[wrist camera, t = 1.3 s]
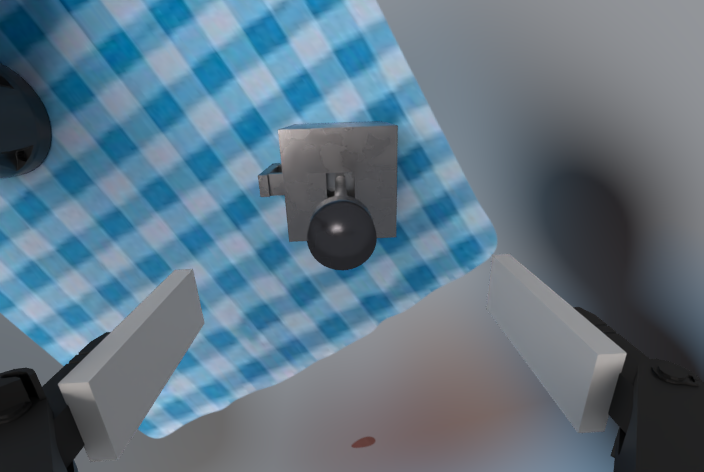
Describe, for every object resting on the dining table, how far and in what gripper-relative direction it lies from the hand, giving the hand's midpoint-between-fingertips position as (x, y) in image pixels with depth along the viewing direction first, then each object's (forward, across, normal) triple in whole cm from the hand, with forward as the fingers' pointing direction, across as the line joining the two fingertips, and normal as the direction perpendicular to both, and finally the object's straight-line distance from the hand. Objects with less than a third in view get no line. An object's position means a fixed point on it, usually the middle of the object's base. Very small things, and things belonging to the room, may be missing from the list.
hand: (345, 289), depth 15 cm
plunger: (+26, 0, 0) cm, 26 cm away
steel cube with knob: (+36, -2, 0) cm, 37 cm away
